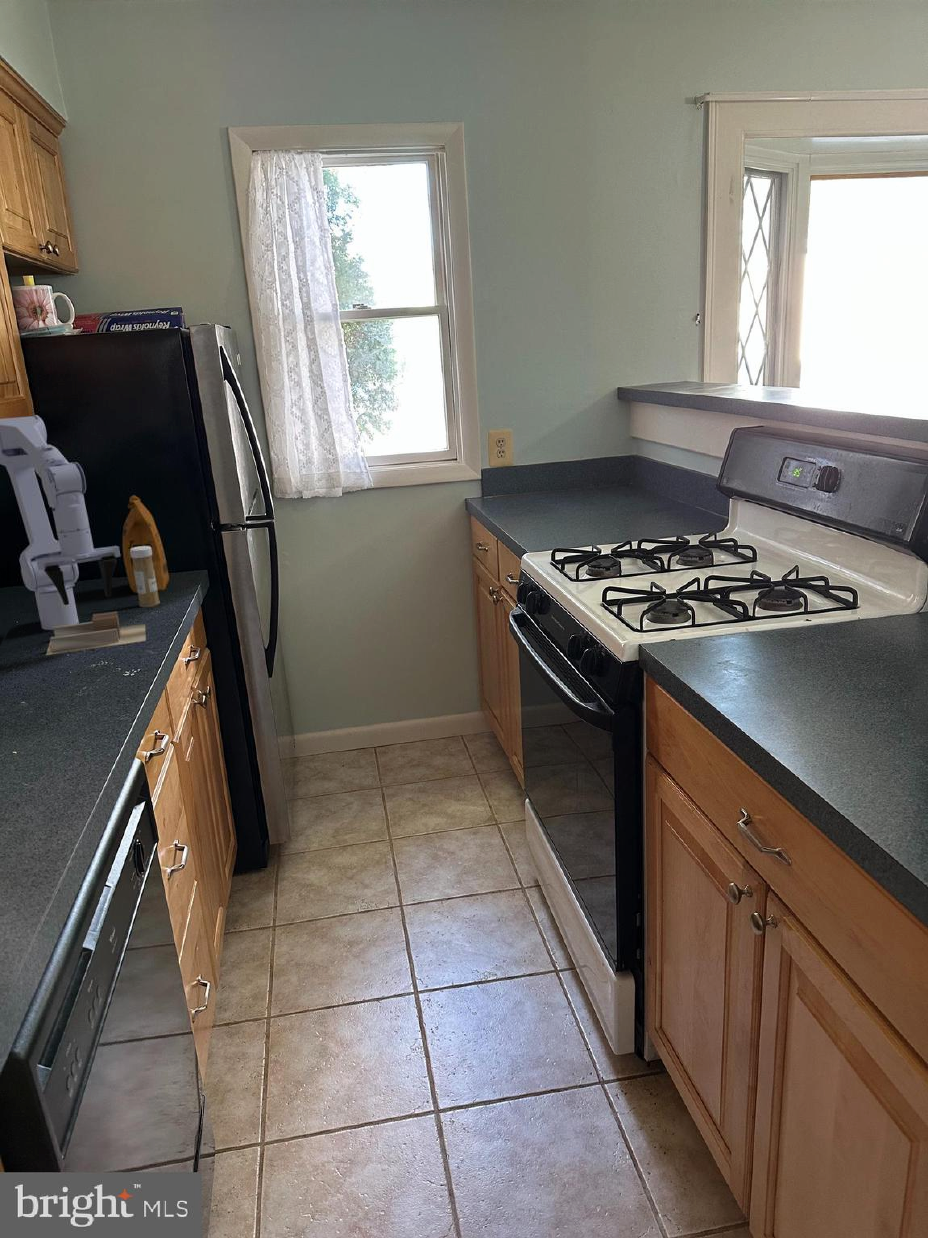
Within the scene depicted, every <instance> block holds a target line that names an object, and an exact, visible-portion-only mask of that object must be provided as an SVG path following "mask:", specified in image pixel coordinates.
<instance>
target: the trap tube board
mask: <svg viewBox="0 0 928 1238" xmlns="http://www.w3.org/2000/svg"><path fill="white" fill-rule="evenodd" d="M53 629H54V630H53V633H54V636H51V637H50V638H49V641H50V642H49V644H48V647H47V651H46V654H45V656H51V655H58V654H66V653H71V652H72V653H73V652H78V651H85V650H86V651H87V650H91V649H93V650H94V649H99V648H100V649H101V648H106V647H107V648H108V647H113V646H120V645H126V644H134V643H135V644H136V643H140V642H146V640H147V638H146V635H147V634H146V624H145V623H144V624H136V625H130V626H129V625H128V626H122V627H120V632H121V635H120V639H119V638H118V633H117V629H109V630H102V631H95V632H94V628H93V623H92V621H89V622H88V621H87V622H81V623H80V622H79V623H78V624H72V625H65V626H58V627H54V628H53Z"/></svg>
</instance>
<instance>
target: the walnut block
mask: <svg viewBox="0 0 928 1238" xmlns="http://www.w3.org/2000/svg"><path fill="white" fill-rule="evenodd" d="M91 620H92V621H91V622H92V623H93V628H94V632H95V631H102V630H109V629H117V633H118V638H119V639H120V635H121V632H120V628H121V627H120V621H119V615H118V611H110V612H103V613H94V614H92V617H91Z"/></svg>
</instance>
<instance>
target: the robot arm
mask: <svg viewBox="0 0 928 1238" xmlns="http://www.w3.org/2000/svg"><path fill="white" fill-rule="evenodd" d="M47 437H48V434H47V428H46V425H45V423H44V420H43V419H42V418H41V417H40V416H39V415H37V414H35V415H32V416H31V415H30V416H20V417H10V418H9V417H8V418H6V417H5V418H0V465H2V466H4V467H5V468H6V470H7V473H8V475H9V478H10V481H11V484H12V488H13V491H14V494H15V497H16V502H17V505H18V507H19V512H20V515H21V517H22V521H23V524H24V528H25V533H26V535H27V539H28V542H29V545H28V546H27V547H26V548H25V549H24V550H23V551H22V552H21V554H20V557H19V559H18V560H19V564H20V573H21V577H22V580H23V584H24V585H25V587H26V589H28V590H29V591H32V592H34V596H35V600H36V606H37V609H38V615H39V619H40V620H39V621H40V625H41V629H43V630H46V631H47V630H48V631H54V629H53V628H54V627H58V626H65V625H72V624H79V623H80V622H79V617H78V612H77V606H76V600H75V596H74V590H73V587H75V583H76V582H77V581H78V579H79V574H80V572H79V566H78V564H81V563H86V562H92V561H97V562H98V567H99V570H100V574H101V579H102V585H103V592H104V596H105V597H107V598H109V597H112V582H113V576H114V572H115V569H116V566H117V559H116V558H119V557H121V553H120V546H117V545H112V546H106V547H98V548H94V543H93V538H92V533H91V528H90V522H89V516H88V512H87V508H86V503H85V502H86V501H85V497H84V494H85V493H86V490H87V481H86V476H85V474H84V471H83V467H82V466H81V465H80V464H79V463H78V462H69V461H68V460H67V458H66V457H64V455H63V454H62V452H61V451H60V450H59V448H57V447H55V446H54V445H51V444H48V443H47V440H48V439H47ZM36 474H37V475H38V476H39V477H40V480H41V484H42V488H43V491H44V493H45V496H46V499H47V503H48V505H49V508H51V510H52V514H53V518H54V525H55V529H56V535H57V539H58V540H57V539H55V537H54V533H53V530H52V527H51V524H50V520H49V516H48V512H47V510H46V507H45V503H44V499H43V496H42V493H41V489H40V486H39V482H38V478H37V475H36Z"/></svg>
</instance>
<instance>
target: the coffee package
mask: <svg viewBox="0 0 928 1238" xmlns="http://www.w3.org/2000/svg"><path fill="white" fill-rule="evenodd" d="M128 501H129V503H128V504H127V508H128V509H130V512H129V513H128V514H127V517H126V519H125V522H124V525H123V529H122V530H123V531H122V558H123V562H124V567H125V572H126V575H127V579H128V580H127V581H128V583H129V588H130V589H131V590H132V592H133V593H135V594H138V592H137V586H136V581H135V575H134V567H133V560H132V557H131V554H130V549H132V548H134V547H139V546H150V547H151V549H152V561H153V567H154V572H155V578H156V584H157V591H165V589H166V587H167V585H168V584H169V580H170V577H169V570H168V565H167V560H166V555H165V551H164V547H163V543H162V540H161V536H160V533H159V531H158V529H157V526H156V523H155V519H154V517H153V515H152V514H151V512H150V510H149V509H147V507H145V505H144V503H142V502H141V499H140V497H137V495H132V496H130V497H129V500H128Z"/></svg>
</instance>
